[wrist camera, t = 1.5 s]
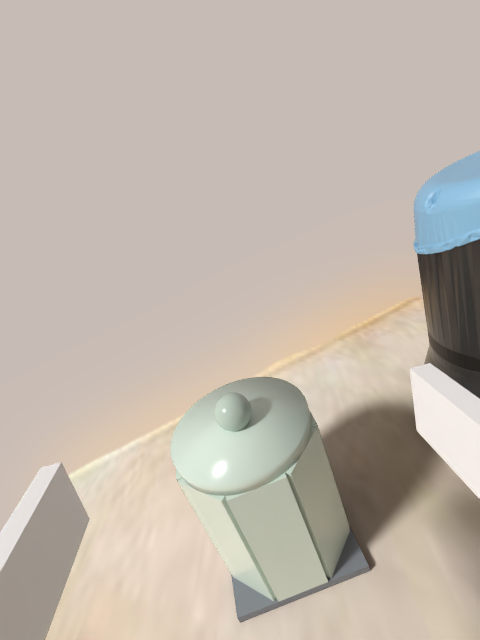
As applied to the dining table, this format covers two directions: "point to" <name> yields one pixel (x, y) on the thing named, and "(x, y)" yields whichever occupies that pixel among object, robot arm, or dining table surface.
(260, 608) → the mat
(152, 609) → the dining table surface
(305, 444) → the lidded canister jar
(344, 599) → the dining table surface
